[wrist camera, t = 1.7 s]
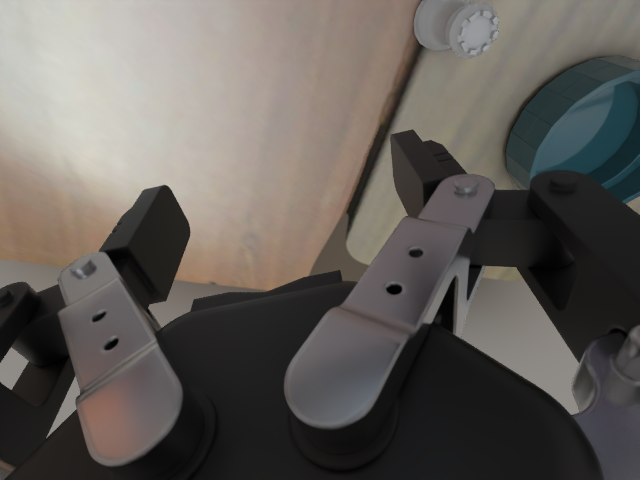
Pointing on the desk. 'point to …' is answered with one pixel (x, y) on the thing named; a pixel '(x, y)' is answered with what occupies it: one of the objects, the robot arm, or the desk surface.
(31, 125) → the desk surface
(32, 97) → the desk surface
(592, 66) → the bowl
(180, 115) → the desk surface
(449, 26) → the rook chess piece
